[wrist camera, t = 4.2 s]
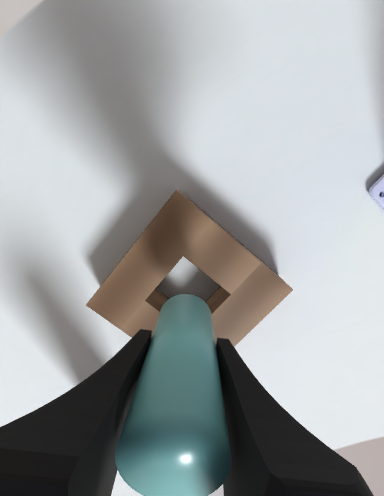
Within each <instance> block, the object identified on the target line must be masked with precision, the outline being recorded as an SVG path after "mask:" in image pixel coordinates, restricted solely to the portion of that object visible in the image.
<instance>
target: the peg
mask: <svg viewBox="0 0 384 496" xmlns="http://www.w3.org/2000/svg"><path fill="white" fill-rule="evenodd" d="M115 460H116V466H117V469H118V471H119V473H120V475H121V477H122V478H123V480H124V481H125V482H126V483H127V484H128V485H129V486H130V487H131V488H132V489H134V490H135V491H137V492H138V493H140V494H142V495H143V496H208V495H209V494H211V493H213V492H214V491H215V490H217V489H218V488H219V487H220V486H221V485H222V484H223V483H224V481H225V480H226V478H227V477H228V475H229V472H230V469H231V451H230V444H229V437H228V429H227V422H226V415H225V408H224V401H223V394H222V386H221V379H220V372H219V365H218V358H217V351H216V343H215V336H214V329H213V322H212V315H211V311H210V308H209V306H208V305H207V304H206V303H205V301H203V300H202V299H201V298H199V297H197V296H195V295H191V294H179V295H176V296H173V297H171V298H170V299H168V300H167V301H166V302H165V303H164V305H163V306H162V308H161V310H160V313H159V317H158V320H157V323H156V326H155V329H154V332H153V335H152V338H151V341H150V345H149V348H148V351H147V354H146V357H145V360H144V363H143V366H142V369H141V372H140V376H139V379H138V382H137V385H136V388H135V391H134V394H133V397H132V400H131V404H130V407H129V410H128V413H127V416H126V419H125V422H124V425H123V428H122V432H121V435H120V438H119V441H118V444H117V447H116V452H115Z"/></svg>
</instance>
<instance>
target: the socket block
mask: <svg viewBox="0 0 384 496" xmlns="http://www.w3.org/2000/svg"><path fill="white" fill-rule="evenodd" d="M183 256H184V257H185V258H186V259H188V260H189V261H190V262H191V263H193V264H194V265H195V266H196V267H198V268H199V269H200V270H201V271H203V272H204V273H205V274H206V275H208V276H209V277H210V278H211V279H213V280H214V281H215V282H216V283H218V284H219V285H220V287H219V288H218V289H217V290H216V291H215V292H214V294H213V295H212V296H211V297H210V298H209V299H208V300H207V301H206V302H205V303H206V304H207V305H208V306H209V308H210V311H211V315H212V322H213V329H214V336H215V343H216V342H217V338H225V339H229V340H230V342H231V343H232V345H233V346H235V345H236V344H238V343H239V342H240V341H241V340H242V339H243V338H244V337H245V336H246V335H247V334H248V333H249V332H250V331H251V330H252V329H253V328H254V327H255V326H256V325H257V324H258V323H259V322H260V321H261V320H262V319H263V318H264V317H266V316H267V315H268V314H269V313H270V312H271V311H272V310H273V309H274V308H275V307H276V306H277V305H278V304H279V303H280V302H281V301H282V300H283V299H284V298H285V297H286V296H287V295H288V294H289V293H290V292H291V291H293V289H292V288H291V287H290V286H289V285H288V284H287V283H286V282H285V281H283V280H282V279H281V278H280V277H279V276H278V275H277V274H276V273H275V272H273V271H272V270H271V269H270V268H269V267H268V266H266V265H265V264H264V263H263V262H262V261H261V260H259V259H258V258H257V257H256V256H255V255H254V254H252V253H251V252H250V251H249V250H248V249H247V248H245V247H244V246H243V245H242V244H241V243H240V242H238V241H237V240H236V239H235V238H234V237H233V236H231V235H230V234H229V233H228V232H227V231H226V230H224V229H223V228H222V227H221V226H220V225H219V224H217V223H216V222H215V221H214V220H213V219H212V218H210V217H209V216H208V215H207V214H206V213H205V212H203V211H202V210H201V209H200V208H199V207H198V206H196V205H195V204H194V203H193V202H192V201H191V200H189V199H188V198H187V197H186V196H185V195H184V194H182V193H181V192H180V191H178V190H176V191H175V193H174V194H173V195H172V196H171V198H170V199H169V200H168V202H167V203H166V204H165V205H164V207H163V208H162V209H161V210H160V212H159V213H158V214H157V215H156V217H155V218H154V219H153V221H152V222H151V223H150V224H149V226H148V227H147V228H146V229H145V231H144V232H143V233H142V234H141V236H140V237H139V238H138V240H137V241H136V242H135V243H134V245H133V246H132V247H131V248H130V250H129V251H128V252H127V253H126V255H125V256H124V257H123V259H122V260H121V261H120V262H119V264H118V265H117V266H116V267H115V269H114V270H113V271H112V273H111V274H110V275H109V276H108V278H107V279H106V280H105V281H104V283H103V284H102V285H101V286H100V288H99V289H98V290H97V292H96V293H95V294H94V295H93V297H92V298H91V299H90V300H89V302H88V303H87V304H86V306H88V307H89V308H91V309H92V310H94V311H95V312H96V313H98V314H99V315H101V316H102V317H103V318H105V319H106V320H108V321H109V322H111V323H112V324H113V325H115V326H116V327H118V328H119V329H120V330H122V331H123V332H125V333H126V334H127V335H129V336H130V337H132V338H133V336H134V335H135V334H136V333H137V332H138V331H139V330H140V329H144V330H152V335H153V332H154V329H155V326H156V323H157V320H158V317H159V313H160V310H161V308H162V306H163V305H164V303H165V302H166V301H167V300H168V299H169V298H167V297H166V296H165V295H163V294H162V293H161V292H159V291H158V290H157V289H156V287H157V286H158V285H159V284H160V282H161V281H162V280H163V279H164V278H165V277H166V275H167V274H168V273H169V272H170V271H171V270H172V268H173V267H174V266H175V265H176V264H177V263H178V261H179V260H180V259H181V258H182V257H183ZM151 338H152V336H151Z"/></svg>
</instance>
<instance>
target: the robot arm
mask: <svg viewBox="0 0 384 496" xmlns="http://www.w3.org/2000/svg"><path fill="white" fill-rule="evenodd" d="M380 192H381V193H382V195H381V197H380V196H379V194H380ZM369 194H370V195H371V196H372V198H373V199H374V200H375V201H376V202H377V203H378V204H379V205H380V206H381V207H382V208H383V209H384V174H383V175H382V176H381V177H380V178H379V179H378V180H377V181H376V182H375V183H374V184H373V185H372V186H371V187H370V189H369ZM151 336H152V330H144V329H140V330H139V331H138V332H137V333H136V334H135V335H134V336H133V338H132V339H131V340H130V341H129V342H128V343H127V344H126V345H125V346H124V347H123V348H122V349H121V350H120V351H119V352H118V353H117V354H116V355H115V356H114V357H112V358H111V359H110V360H109V361H108V362H107V363H106V364H104V365H103V366H102V367H101V368H100V369H98V370H97V371H96V372H95V373H93V374H92V375H91V376H89V377H88V378H87V379H85V380H84V381H83V382H81V383H80V384H78V385H77V386H75V387H74V388H72V389H71V390H69V391H68V392H66V393H65V394H63V395H61V396H60V397H58V398H56V399H55V400H53V401H51V402H49V403H48V404H46V405H44V406H42V407H40V408H39V409H37V410H35V411H33V412H31V413H29V414H27V415H25V416H23V417H21V418H19V419H16V420H14V421H12V422H10V423H8V424H6V425H4V426H2V427H0V496H111V493H112V489H113V485H114V481H115V477H116V473H117V466H116V460H115V452H116V447H117V444H118V441H119V438H120V435H121V432H122V428H123V425H124V422H125V419H126V416H127V413H128V410H129V407H130V404H131V400H132V397H133V394H134V391H135V388H136V385H137V382H138V379H139V376H140V372H141V369H142V366H143V363H144V360H145V357H146V354H147V351H148V348H149V345H150V341H151ZM216 351H217V358H218V365H219V372H220V379H221V386H222V394H223V401H224V408H225V415H226V422H227V429H228V437H229V444H230V451H231V469H230V472H229V475H228V477H227V478H226V480H225V481H224V483H223V485H224V486H223V487H224V496H373V494H372V492H371V491H370V489H369V487H368V486H367V484H366V482H365V480H364V479H363V477H362V476H361V474H360V473H359V471H358V470H357V468H356V467H355V466H354V465H352V464H351V463H350V462H348V461H347V460H345V459H344V458H343V457H341V456H340V455H339V454H337V453H336V452H335V451H333V450H332V449H330V448H329V447H328V446H326V445H325V444H324V443H323V442H321V441H320V440H319V439H318V438H316V437H315V436H314V435H313V434H311V433H310V432H309V431H308V430H307V429H305V428H304V427H303V426H302V425H301V424H300V423H299V422H297V421H296V420H295V419H294V418H293V417H292V416H291V415H290V414H289V413H288V412H287V411H286V410H285V409H283V408H282V407H281V406H280V405H279V404H278V403H277V401H276V400H275V399H274V398H273V397H272V396H271V395H270V394H269V393H268V392H267V391H266V390H265V389H264V387H263V386H262V385H261V384H260V383H259V381H258V380H257V379H256V378H255V376H254V375H253V374H252V372H251V371H250V370H249V368H248V367H247V366H246V364H245V363H244V361H243V360H242V358H241V357H240V356H239V354H238V353H237V351H236V349H235V348H234V346H233V345H232V343H231V342H230V340H229V339H225V338H217V342H216Z"/></svg>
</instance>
